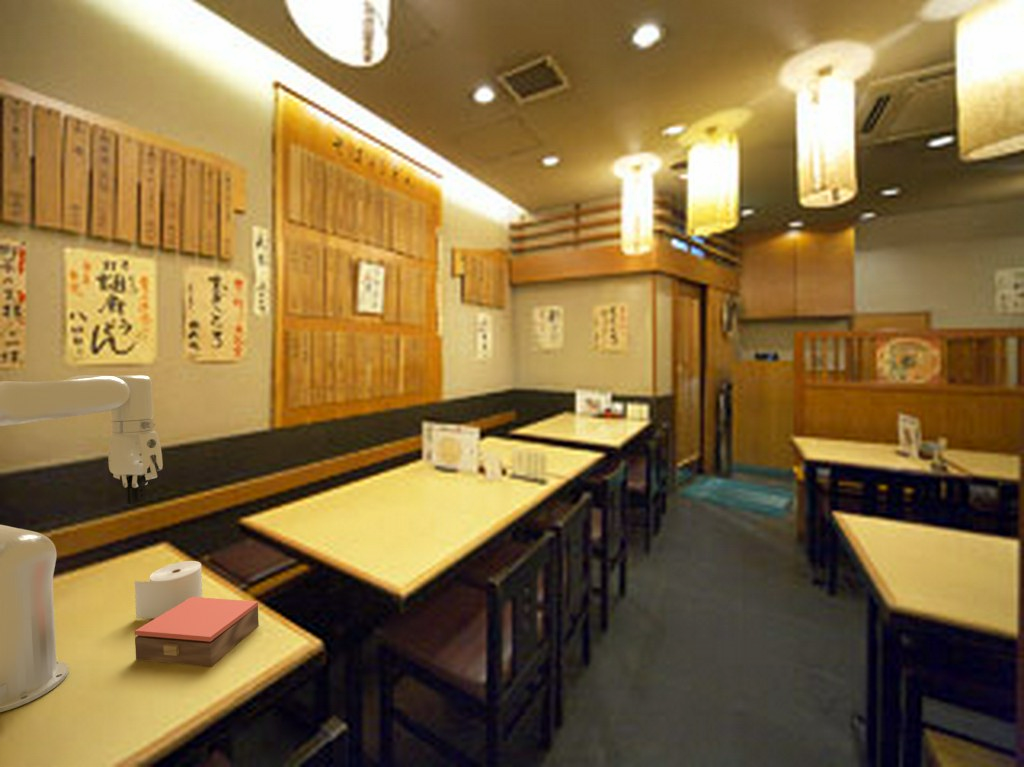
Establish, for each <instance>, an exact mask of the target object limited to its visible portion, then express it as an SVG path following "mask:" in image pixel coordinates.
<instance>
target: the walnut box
mask: <svg viewBox="0 0 1024 767" xmlns="http://www.w3.org/2000/svg"><path fill="white" fill-rule="evenodd" d="M259 624H260V623H259V605H258V606H257V607H256V608H254V609H253V610H252V611H250V612H249V613H248V614H246V615H245V616H244V617H242V618H241V619H240V620H238V621H237V622H236V623H234V624H233V625H232V626H230V627H229V628H228V629H226V630H225V631H224V632H222V633H221V634H220V635H218V636H217V637H216V638H214V639H213V640H212V641H211V642H209V641H197V640H186V639H174V638H162V637H150V636H139V635H136V636H135V637H134V640H135V643H134V644H135V660H136V661H145V662H146V661H148V662H156V663H157V662H158V663H166V664H177V665H178V664H179V665H189V666H201V667H211V668H212V667H213V666H214V665H215V664H216V663H217V662H218V661H219V660H221V659H222V658H223V657H224V656H225V655H226V654H228V653H229V652H230V651H232V649H234V647H236V646H237V645H238V644H239V643H240V642H241V641H242V640H243V639H245V638H246V637H247V636H249V634H251V633H252V632H253V631H254V630H256V628H258V627H259V626H260V625H259Z"/></svg>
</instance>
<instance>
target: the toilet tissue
mask: <svg viewBox="0 0 1024 767" xmlns="http://www.w3.org/2000/svg"><path fill="white" fill-rule="evenodd" d="M202 573H203V572H202V563H201V562H199V561H195V560H194V561H193V560H188V561H187V560H186V561H179V562H176V563H171V564H167V565H165V566H163V567H160V568H159V569H157V570H155V571H153V572H152V573H151V574H149V575H150V576H149V581H138V580H134V593H135V594H134V596H135V597H134V598H135V600H134V601H135V614H136V615H135V617H136V618H138V619H142V620H144V619H155V618H157V617H159V616H160V615H162V614H164V613H165V612H167V611H169V610H170V609H172V608H174V607H175V606H177V605H179V604H181V603H182V602H184V601H186V600H187V599H189V598H191V597H202V598H203V581H202V577H203V576H202Z"/></svg>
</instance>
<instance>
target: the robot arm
mask: <svg viewBox="0 0 1024 767" xmlns="http://www.w3.org/2000/svg"><path fill="white" fill-rule="evenodd" d="M153 395H154V394H153V381H152V379H151V377H150V376H148V375H145V374H144V375H143V374H142V375H141V374H139V375H138V374H137V375H135V374H134V375H133V374H128V375H127V374H126V375H115V376H113V375H102V374H100V375H99V374H98V375H97V374H96V375H95V374H89V375H88V374H83V375H79V374H78V375H74V376H71V377H68V378H66V379H65V380H64V379H62V380H45V381H18V380H17V381H16V380H14V381H13V380H12V381H11V380H10V381H9V380H6V381H5V380H3V381H2V380H1V381H0V427H4V426H5V427H6V426H12V425H13V426H14V425H15V426H16V425H20V424H22V425H23V424H27V423H28V424H29V423H35V422H40V421H49V420H58V419H64V418H72V417H78V416H80V417H81V416H85V415H90V414H91V415H92V414H98V413H103V412H109V411H110V426H111V427H110V430H111V433H110V437H109V442H108V443H109V445H108V470H109V472H110V473H111V474H113V476H112V477H113V478H115V479H118V480H120V481H121V482H122V486H123V487H124V488H125V496H126V498H125V500H126V505H136V504H139V503H142V502H145V501H146V500H147V495H146V491H147V490H146V485H148V482H149V481H150V480H153V479H156V478H158V473H157V472H159V471H162V470H163V466H164V465H163V453H162V446H161V441H160V438H159V435H158V431H155V425H156V424H155V422H154V417H155V416H154V400H153V399H154V398H153ZM57 556H58V554H57V548H56V545H55V544H54V542H53V540H51V539H50V538H49V537H48V536H46V535H45V534H43V533H40V532H37V531H33V530H29V529H24V528H18V527H13V526H9V525H4V524H0V713H3V712H6V711H11V710H13V709H16V708H18V707H21V706H23V705H25V704H28V703H31V702H33V701H34V700H37V699H39V698H40V697H43V696H44V695H46V694H48V693H49V692H50V691H52V690H53V689H55V688H56V687H57V686H58V685H60V684H61V683H62V682H63V681H65V679H66V677H67V675H68V673H69V666H68V664H67V663H66V662H63V661H59V660H57V645H56V644H57V643H56V641H57V640H56V627H55V626H56V624H55V622H56V621H55V608H54V607H55V606H54V590H53V588H54V586H53V585H54V573H55V567H56V562H57Z"/></svg>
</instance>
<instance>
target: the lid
mask: <svg viewBox="0 0 1024 767" xmlns="http://www.w3.org/2000/svg"><path fill="white" fill-rule="evenodd" d="M257 606H258V607H259V602H258V601H257V600H256V601H255V600H254V601H253V600H241V599H240V600H239V599H230V598H229V599H227V598H216V597H214V598H213V597H211V598H210V597H203V596H202V597H191V598H189V599H187V600H186V601H184V602H182V603H181V604H179V605H177V606H175V607H174V608H172V609H170V610H169V611H167V612H165V613H164V614H162V615H160V616H159V617H157V618H153V619H152V620H151V621H149V622H147V623H145V624H143V625H142V626H141V627H139V628H137V629H135V630H134V636H138V635H139V636H150V637H162V638H174V639H186V640H197V641H209V642H211V641H212V640H213V639H214V638H216V637H217V636H218V635H220V634H221V633H222V632H224V631H225V630H226V629H228V628H229V627H230V626H232V625H233V624H234V623H236V622H237V621H238V620H240V619H241V618H242V617H244V616H245V615H246V614H248V613H249V612H250V611H252V610H253V609H254V608H256V607H257Z"/></svg>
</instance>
